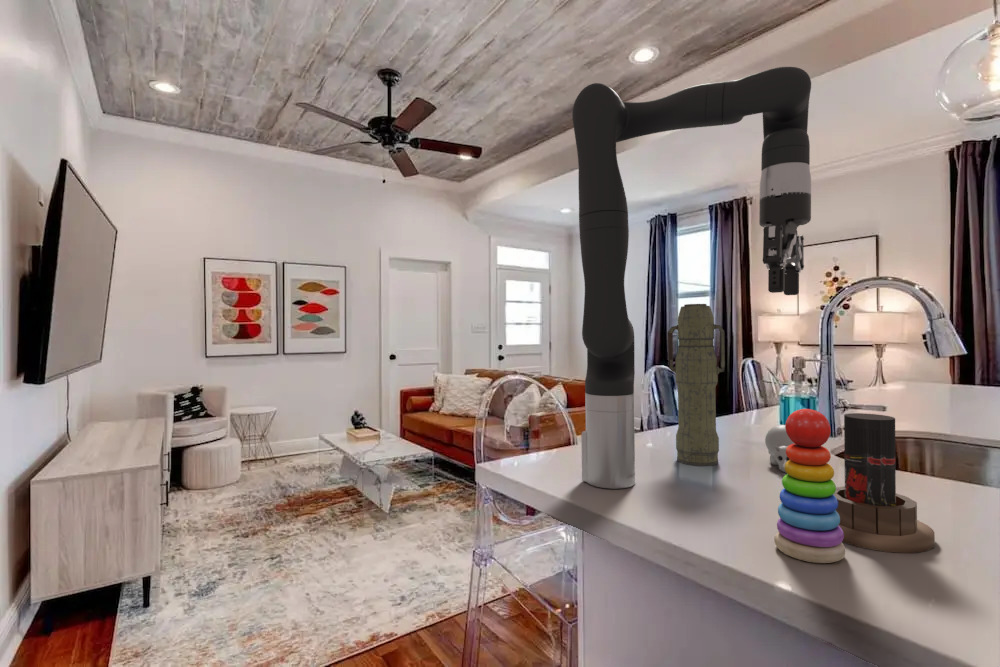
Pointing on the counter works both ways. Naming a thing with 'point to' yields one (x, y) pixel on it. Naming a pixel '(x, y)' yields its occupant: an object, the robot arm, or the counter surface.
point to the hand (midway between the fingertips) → (784, 293)
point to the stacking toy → (809, 493)
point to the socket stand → (883, 525)
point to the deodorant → (870, 459)
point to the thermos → (696, 384)
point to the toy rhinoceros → (778, 445)
